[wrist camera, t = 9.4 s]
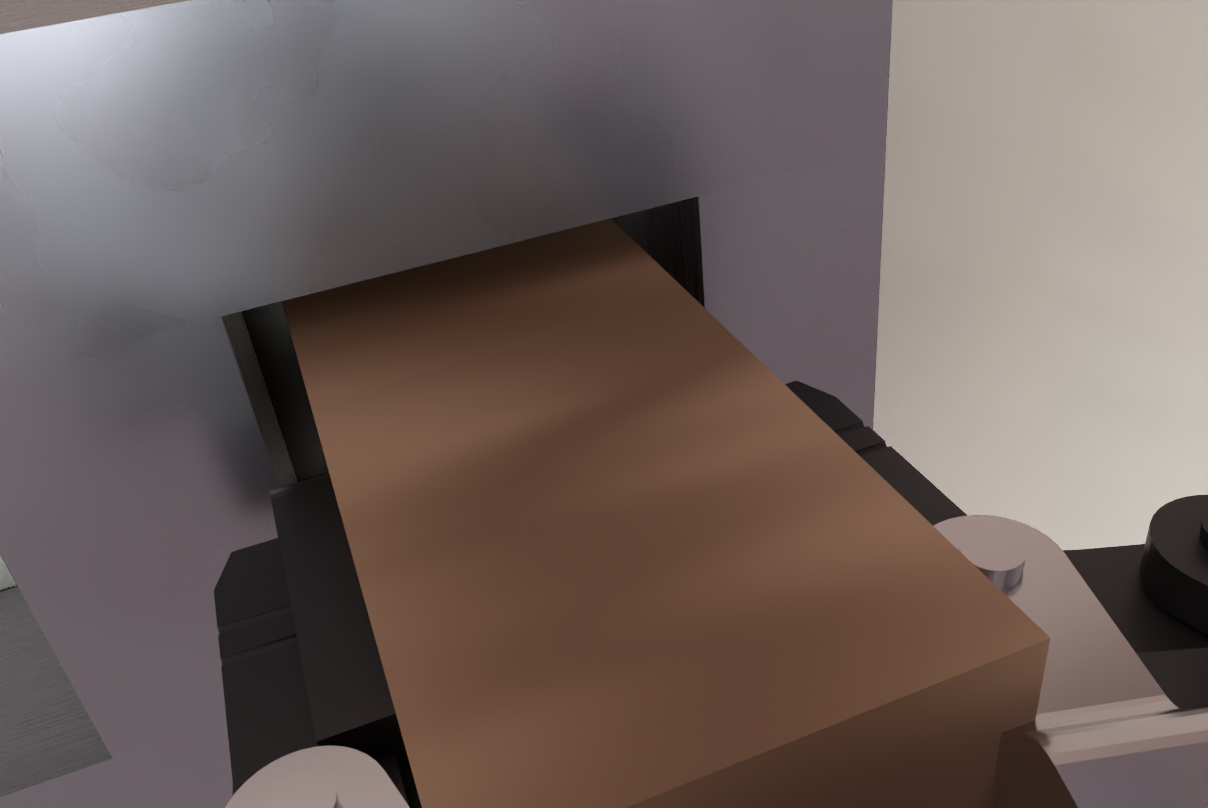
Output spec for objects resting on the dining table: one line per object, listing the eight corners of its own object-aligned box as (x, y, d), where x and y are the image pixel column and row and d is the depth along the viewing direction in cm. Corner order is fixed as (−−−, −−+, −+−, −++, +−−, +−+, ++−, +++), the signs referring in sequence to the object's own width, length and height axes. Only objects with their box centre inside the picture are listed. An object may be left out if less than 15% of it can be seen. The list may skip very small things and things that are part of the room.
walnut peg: (603, 211, 13) (1051, 638, 7) (631, 468, 15) (988, 975, 9) (279, 292, 12) (443, 882, 6) (357, 554, 14) (539, 1192, 8)
